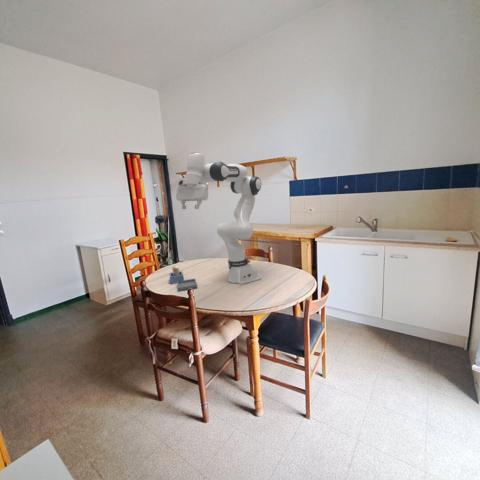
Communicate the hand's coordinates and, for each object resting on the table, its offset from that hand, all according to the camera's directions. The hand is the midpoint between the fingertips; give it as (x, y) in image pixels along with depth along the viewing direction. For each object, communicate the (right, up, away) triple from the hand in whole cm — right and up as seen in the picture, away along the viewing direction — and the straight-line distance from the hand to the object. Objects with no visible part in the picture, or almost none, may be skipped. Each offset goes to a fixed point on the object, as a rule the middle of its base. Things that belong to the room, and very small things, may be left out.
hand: (190, 208), depth 135 cm
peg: (-18, -45, +46) cm, 66 cm away
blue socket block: (-18, -45, +46) cm, 66 cm away
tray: (-8, -46, +34) cm, 58 cm away
